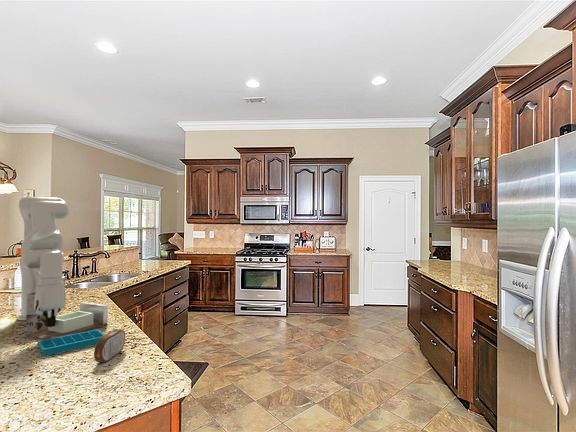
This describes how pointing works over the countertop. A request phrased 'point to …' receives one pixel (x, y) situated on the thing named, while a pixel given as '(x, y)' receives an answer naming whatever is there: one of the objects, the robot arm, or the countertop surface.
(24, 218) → the robot arm
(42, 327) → the coffee box
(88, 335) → the ice cube tray
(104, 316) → the stop wall
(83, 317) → the pale green open box
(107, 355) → the tin
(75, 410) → the countertop surface
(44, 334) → the brown flat board
